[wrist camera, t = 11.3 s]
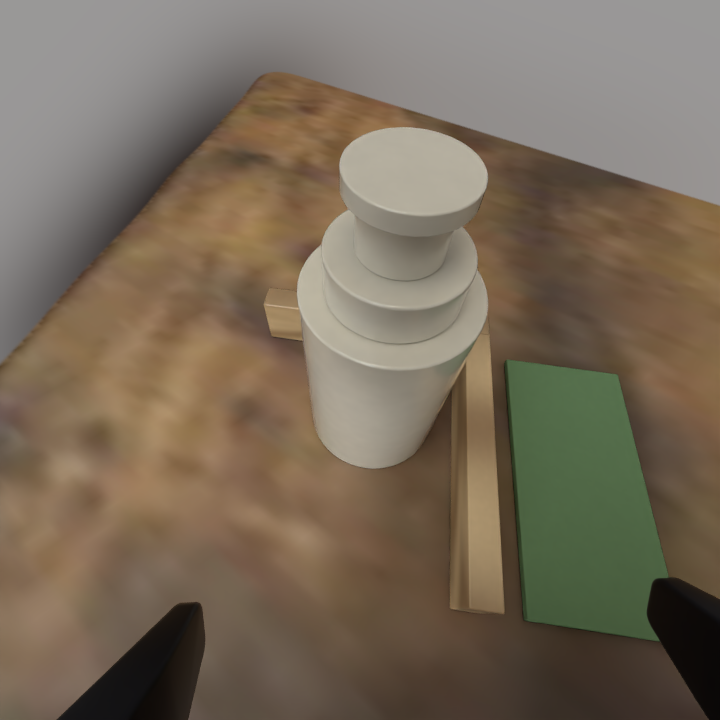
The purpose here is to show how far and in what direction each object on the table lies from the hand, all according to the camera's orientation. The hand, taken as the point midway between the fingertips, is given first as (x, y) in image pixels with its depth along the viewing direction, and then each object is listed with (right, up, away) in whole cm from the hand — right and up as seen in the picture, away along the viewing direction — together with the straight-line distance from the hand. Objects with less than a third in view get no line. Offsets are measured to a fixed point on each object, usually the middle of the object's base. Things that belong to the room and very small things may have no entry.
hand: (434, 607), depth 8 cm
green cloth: (+9, -1, +11) cm, 14 cm away
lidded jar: (-1, +2, +12) cm, 12 cm away
